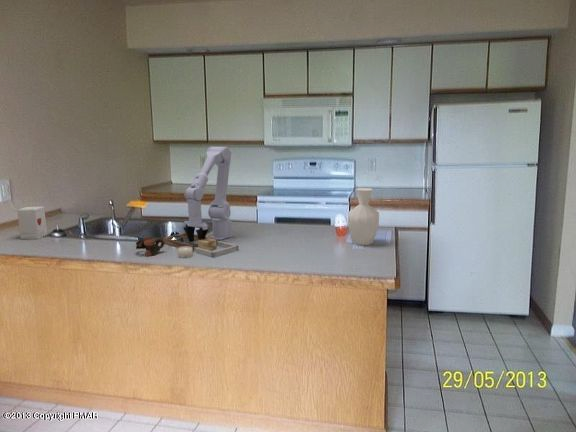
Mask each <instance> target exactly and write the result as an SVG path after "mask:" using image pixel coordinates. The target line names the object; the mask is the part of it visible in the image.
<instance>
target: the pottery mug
mask: <svg viewBox="0 0 576 432" xmlns="http://www.w3.org/2000/svg"><path fill="white" fill-rule="evenodd" d="M164 243H165V242H164V241H163V239H162V238H157V239H153V237H152V236H148V237H145V238H141V239H140V240H138V241H136V242H135V245H136V247H135V249H136V250H143V249H144V250H146V251H145V252H144V254H145V256H146V257H147V258H148V257H151V256H153V255H159V252H160V251H161V249H163V248H164V246H165V244H164ZM159 244H160V245H159Z"/></svg>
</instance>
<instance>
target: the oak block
mask: <svg viewBox="0 0 576 432" xmlns="http://www.w3.org/2000/svg"><path fill="white" fill-rule="evenodd" d="M197 245H198V248H201V249H205V250H209V251H214V250H217V249H218V247H217V246H218V244H217V245H216V240H214V239H210V238H205V239H201V240H198V241H197ZM213 249H214V250H213Z"/></svg>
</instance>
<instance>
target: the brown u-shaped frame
mask: <svg viewBox="0 0 576 432" xmlns="http://www.w3.org/2000/svg"><path fill="white" fill-rule="evenodd" d="M176 236H181V237H182V238H183V239H182V240H184V239H188V236H187V234H186V232H182V233H178V234H174V235H170V236H169V235H168V236H165V237H161V239H163V241H164V242H165V243H164V245H167V246H169V247H170V246H171V247H174V248H177V249H178V248H179V247H183V246H190V247H192V251H193V252H195V245H193V244H191V243H186V242H182V241H180V240H177V241H175V240H171V239H172V238H173V237H176ZM209 237H210V236H205V238H209ZM210 239H213V238H210ZM198 240H199V239H198V235H197V233H194V241H197V242H198ZM214 240H216V245H217V246H218V240H217V239H214Z"/></svg>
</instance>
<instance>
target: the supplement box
mask: <svg viewBox="0 0 576 432" xmlns="http://www.w3.org/2000/svg"><path fill="white" fill-rule="evenodd" d="M16 212H17V219H18V226H19V235H20V240H39V239H41V238H43V236H44V237H46V236H47V235H48V229H47V221H46V212H45V206H40V205H39V206H25V207H22V208H19V209H17V211H16ZM45 235H46V236H45Z"/></svg>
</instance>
